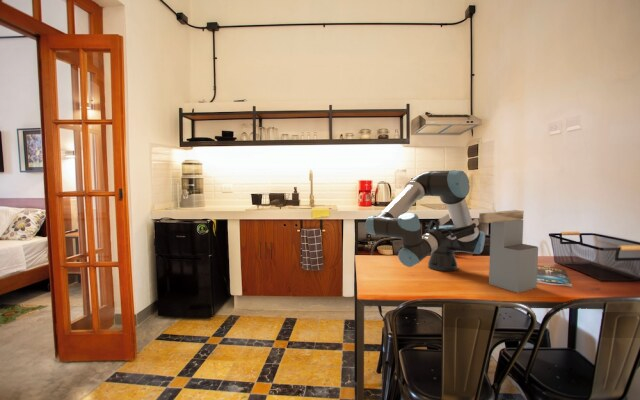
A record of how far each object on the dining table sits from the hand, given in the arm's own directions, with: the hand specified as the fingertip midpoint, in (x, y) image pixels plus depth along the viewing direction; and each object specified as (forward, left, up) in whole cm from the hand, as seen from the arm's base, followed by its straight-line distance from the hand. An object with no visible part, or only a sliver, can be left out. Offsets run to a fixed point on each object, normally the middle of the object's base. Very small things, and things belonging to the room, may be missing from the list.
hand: (462, 218), depth 139 cm
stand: (-15, +25, -32) cm, 43 cm away
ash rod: (-15, +20, -2) cm, 25 cm away
